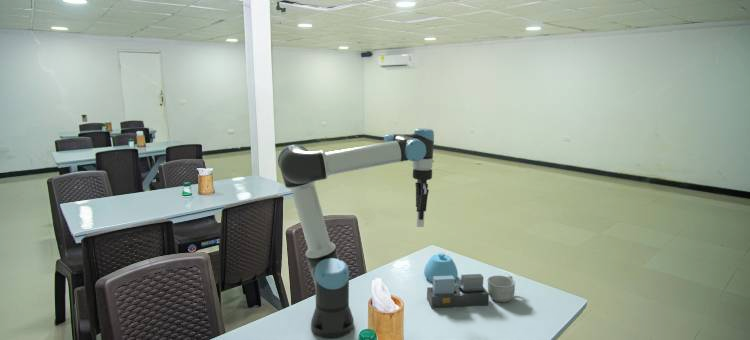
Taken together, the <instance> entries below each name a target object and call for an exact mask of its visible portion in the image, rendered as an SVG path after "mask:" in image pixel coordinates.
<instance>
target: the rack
mask: <svg viewBox="0 0 750 340" xmlns="http://www.w3.org/2000/svg"><path fill="white" fill-rule="evenodd" d="M460 280H461V281H460V285H456V286H454V294H437V295H433V293H432V288H433V286H432V287H431V286H429V287H427V288H426V291H427V292H426V300H427V302H428V305H429V306H430V308H431V309H446V308H447V309H448V308H467V307H483V306H489V299H490V295H489V293H488V290H487V289H486V288H485V287H484V276H483V275H482V274H481V273H471V274H469V273H468V274H461V279H460Z"/></svg>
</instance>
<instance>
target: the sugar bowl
mask: <svg viewBox="0 0 750 340" xmlns="http://www.w3.org/2000/svg"><path fill="white" fill-rule="evenodd" d="M423 274H424V276H425V278H426V279H427V280H428V281H429V282H431V283H433V276H453V277H454V278H455V280H457V278H458V275H459V274H458V268H457V266H456V263H455V262H454V260H453V259H452V257H451V256H449V255H447V254H445V253H443V252H439V253H438V254H433V255H432V256H431V257H429V259H428V260H427V262H426V264H425V266H424V271H423Z"/></svg>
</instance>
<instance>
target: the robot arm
mask: <svg viewBox="0 0 750 340" xmlns="http://www.w3.org/2000/svg"><path fill="white" fill-rule="evenodd" d="M434 133H435V132H434V130H433V129H432V128H415V129H414V132H413V133H410V134H409V133H408V134H403V133H401V134H400V133H399V134H397V133H395V134H394V133H392V134H386V135H385V136H384V138H383V142H380V143H379V142H378V143H375V144H369V145H364V146H363V145H362V146H357V147H352V148H351V147H350V148H345V149H341V150H334V151H328V152H324V151H323V150H314V151H313V150H312V151H311V150H310V151H309V150H308V149H307V148H306V147H304V146H303V145H299V144H291V145H287V146H285V147H284V148H283V149H282V150H281V151H280V153H279V154H278V157H277V164H278V167H279V169H280V173H281V175H282V179H283V183H284V186H285V188H286V189H288V190H290V191H291V195H292V198H293V201H294V205H295V208H296V212H297V215H298V219H299V222H300V225H301V226H300V227H301V229H302V232H303V236H304V239H305V242H306V246H307V250H306V251H305V259H306V260H307V263H308V270H309V272H310V273H311V274H310V275H311V277H312V280H313V283H314V287H315V289H314V290H315V308H314V310H313V315H312V317H311V321H310V329H311V332H312V333H313V334H315V335H316V336H318V337H320V338H324V339H336V338H338V339H339V338H341V337H345V336H346V334H347V335H349V332H350V331H351V330H352V331H353V329H354V325H355V323H354V321H355V320H354V316H353V314H352V311H351V307H350V303H349V302H350V291H349V289H350V270H349V266H348V264H347V263H346V262H345V261H343V260H340V258H339V257H340V256H339V253H338V250H337V246H336V244H335V243H334V242H332V241H331V240H330V235H329V232H328V228H327V225H326V222H325V218H324V215H323V210H322V207H321V203H320V200H319V196H318V192H317V189H316V185H315V183H316V181H321V180H322V181H323V180H327V179H328V177H330V176H333V175H337V174H342V173H347V172H354V171H357V170H358V171H359V170H364V169H369V168H375V167H378V166H386V165H391V164H396V163H401V162H402V163H403V162H407V161H410V162H412V167H413V169H412V178H413V179H414V180H417V181H416V182H415V207H416V210H415V211H416V224H415V225H416V228H425V226H424V225H425V212H426V211H427V204H428V196H429V192H430V190H429V189H428V187H429V184H428V183H427V181H429V180H431V179H432V178H433V163H435V160H434V159H433V158H434V145H435V143H434V142H435V139H434V138H435V134H434ZM352 331H351V332H352ZM351 332H350V333H351ZM344 335H345V336H344Z"/></svg>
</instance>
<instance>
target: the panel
mask: <svg viewBox="0 0 750 340" xmlns="http://www.w3.org/2000/svg"><path fill="white" fill-rule="evenodd" d="M455 282H456V279H455V278H454V277H453V276H433V282H432V287H433V288H432V293H433V295H437V294H454V286H455Z"/></svg>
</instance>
